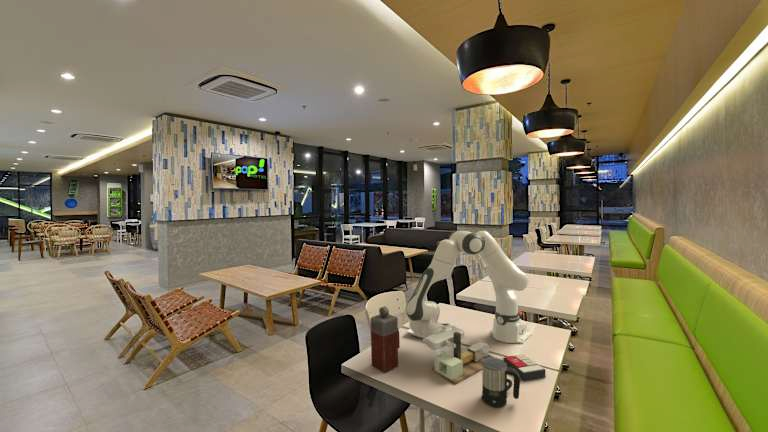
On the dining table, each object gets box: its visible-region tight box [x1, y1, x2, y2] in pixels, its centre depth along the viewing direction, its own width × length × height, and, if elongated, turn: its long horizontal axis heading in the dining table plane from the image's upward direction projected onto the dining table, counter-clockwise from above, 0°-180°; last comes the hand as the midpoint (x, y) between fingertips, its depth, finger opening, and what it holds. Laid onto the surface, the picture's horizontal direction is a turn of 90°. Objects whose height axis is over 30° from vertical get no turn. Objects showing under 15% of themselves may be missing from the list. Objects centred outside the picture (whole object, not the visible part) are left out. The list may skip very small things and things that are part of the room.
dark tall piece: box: [445, 332, 475, 368], centre depth 148 cm, size 18×3×15 cm, turn 127°
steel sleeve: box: [466, 341, 491, 363], centre depth 156 cm, size 10×6×5 cm, turn 127°
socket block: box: [434, 351, 463, 380], centre depth 143 cm, size 7×10×6 cm
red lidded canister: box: [370, 305, 401, 374], centre depth 151 cm, size 9×11×28 cm
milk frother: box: [481, 356, 521, 408], centre depth 128 cm, size 14×16×15 cm
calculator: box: [502, 353, 547, 382], centre depth 146 cm, size 11×4×15 cm
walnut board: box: [431, 355, 496, 386], centre depth 151 cm, size 30×14×1 cm, turn 127°
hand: (458, 344), depth 146 cm, fingers closed on dark tall piece, 2 cm apart
